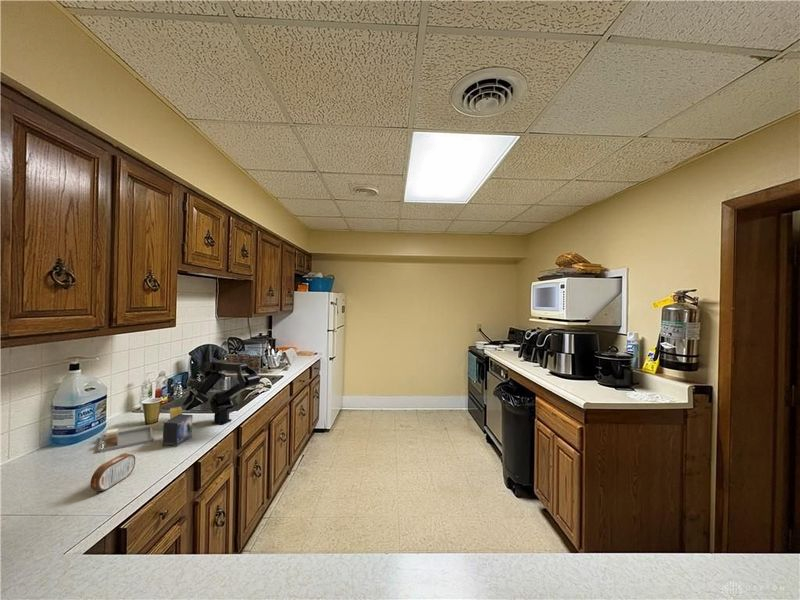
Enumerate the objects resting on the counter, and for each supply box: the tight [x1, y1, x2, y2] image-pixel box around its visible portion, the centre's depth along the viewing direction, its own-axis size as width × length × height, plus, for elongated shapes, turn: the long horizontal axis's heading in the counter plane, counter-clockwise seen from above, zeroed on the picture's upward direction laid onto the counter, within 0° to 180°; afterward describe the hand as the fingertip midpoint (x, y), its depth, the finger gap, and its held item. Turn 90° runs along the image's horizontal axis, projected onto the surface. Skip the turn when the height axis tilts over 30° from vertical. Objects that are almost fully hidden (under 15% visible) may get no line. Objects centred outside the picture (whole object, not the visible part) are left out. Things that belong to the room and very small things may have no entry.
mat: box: [155, 422, 197, 432], centre depth 163 cm, size 12×12×1 cm
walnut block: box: [105, 434, 118, 448], centre depth 141 cm, size 4×4×4 cm
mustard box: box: [169, 406, 183, 419], centre depth 163 cm, size 4×4×8 cm
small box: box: [162, 413, 194, 448], centre depth 146 cm, size 11×6×10 cm, turn 179°
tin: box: [89, 452, 136, 492], centre depth 114 cm, size 15×3×8 cm, turn 178°
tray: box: [97, 425, 155, 454], centre depth 147 cm, size 18×18×2 cm
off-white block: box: [105, 428, 119, 436], centre depth 146 cm, size 4×4×4 cm
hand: (184, 407), depth 165 cm, fingers open, 9 cm apart
